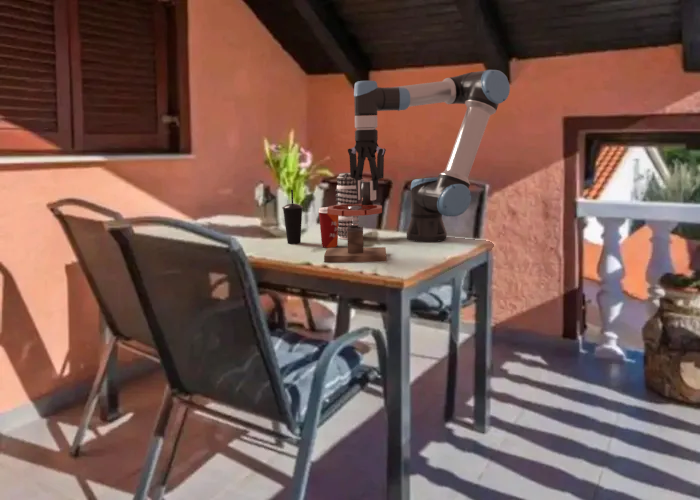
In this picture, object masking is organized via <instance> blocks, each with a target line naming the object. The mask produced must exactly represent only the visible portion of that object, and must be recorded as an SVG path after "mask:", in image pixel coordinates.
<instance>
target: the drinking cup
mask: <svg viewBox="0 0 700 500" xmlns="http://www.w3.org/2000/svg"><path fill="white" fill-rule="evenodd" d="M290 194H291V197H290V198H291V199H290V200H291V201H290V202H291V203H288V204H286V205H283V206H282V207H281V208H282V210H283V217H284V226H285V233H286V241H287V244H289V245H298V244H301V242H302V241H301V239H302V237H301V236H302V223H303V222H302V220H303V209H304V207H303V205H300V204H298V203H294V189H290Z"/></svg>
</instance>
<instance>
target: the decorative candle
mask: <svg viewBox="0 0 700 500" xmlns="http://www.w3.org/2000/svg"><path fill="white" fill-rule="evenodd" d="M336 180H337V181H336V184H337V185H336V189H335V190H334V191H335V192H336V194H335V197H336V198H335V202H337V203H336V204H335V205H342V204H360V203H359V200H358V190H357V189H356V180H355V179H354V178H351V175H350V172H342V173H339V174H338V175H337V177H336ZM351 220H352V216H340V215H339V217H338V240H346V241H348V235H347V229H348V227H353V226H352V221H351ZM359 222H360V220H359V221H358V223H359ZM358 226H360V224H359V225H358Z"/></svg>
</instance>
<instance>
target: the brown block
mask: <svg viewBox="0 0 700 500" xmlns="http://www.w3.org/2000/svg"><path fill="white" fill-rule="evenodd" d="M347 235H348V240H347V247H334V248H325V253H324V257H323V262H324V263H351V262H352V263H355V262H356V263H363V262H364V263H365V262H367V263H368V262H370V263H371V262H387V249H386V247H385V246H379V247H376V246H375V247H364V227H363V226H360V225H359V226H358V228H353V227H348V229H347Z"/></svg>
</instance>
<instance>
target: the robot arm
mask: <svg viewBox="0 0 700 500" xmlns="http://www.w3.org/2000/svg"><path fill="white" fill-rule="evenodd" d="M353 86H354V89H353V99H354V128H355V131H354V141H355V144H354V147H351V148H347V153H348V156H349V167H350V168H349V173H350V175H351V178H354V179H355V180H356V189H357V190H358V192H357V193H358V196H357V198H358V201H361V182H365V180H364V178H363V175H364V174H363V173H364V166H365V161H366V160H367V161H368V164H369V169H370V170H369V171H370V174H371V179H370V180H369V182H370V200H373V201H375V200H377V191H378V190H379V180H381V179H383V178H384V177H385V176H384V175H385V174H384V171H385V170H384V167H385V153H386V151H387V150H386V148H382V147H380V146H379V144H378V139H379V138H378V135H379V134H378V130H377V129H376V128H378V112H390V111H391V112H392V111H397V112H400V111H406V110H407V109H408V108H410V107H416V106H417V107H419V106H425V105H434V104H439V103H440V104H441V103H445V104H446V105H454V104H457V105H458V104H459V105H465V106H466V107H465V108H466V110H465V113H464V116H463V119H462V122H461V125H460V128H459V130H458V133H457V136H456V137H455V138H456V139H455V142H454V144H453V147H452V150H451V152H450V155H449V159H448V162H447V164H446V166H445V170H444V171H442V172H440V173H439V174H438V177H425V178H416V179H413V180H412V181H411V183H410V221H409V224H408V228H407V231H406V240H407V241H412V242H418V243H431V242H434V243H436V242H441V241H445V240H447V230H446V227H445V223H444V220H443V216H444V217H458V216H460V215H463V214H464V213H465V212H466V211H467V210H468V209H469V207H470V205H471V202H472V194H471V191H470V186H471V182H470V181H469V175H470V173H471V170H472V167H473V165H474V162H475V159H476V156H477V154H478V151H479V147H480V145H481V143H482V139H483V136H484V135H485V131H486V128H487V125H488V122H489V121H490V117H491V116H492V115H495V114H496V112H497V109H498V107H499V104H502V103H504V102H505V101H507V99H508V97H509V95H510V91H511V85H510V81H509V80H508V77H507V75H506V74H505V73H504V72H502V71H501V70H500V69H499V70H497V69H486V70H480V71H471V72H466V73H463V74H459V75H456V76H455V75H454V76H452V77H446V78H444V79H442V81H441V80H440V81H434V82H433V81H432V82H425V83H417V84H409V85H401V86H400V85H399V86H392V87H391V86H390V87H381V86H380V87H379V86H378V83H377V81H375V80H360V81H359V80H358V81H356V82H355V83H354V85H353ZM376 153H377V156H376Z"/></svg>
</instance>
